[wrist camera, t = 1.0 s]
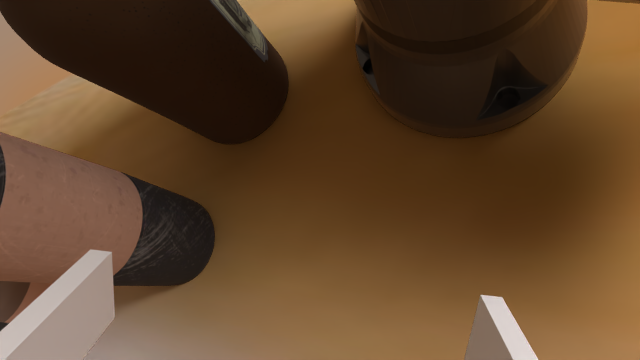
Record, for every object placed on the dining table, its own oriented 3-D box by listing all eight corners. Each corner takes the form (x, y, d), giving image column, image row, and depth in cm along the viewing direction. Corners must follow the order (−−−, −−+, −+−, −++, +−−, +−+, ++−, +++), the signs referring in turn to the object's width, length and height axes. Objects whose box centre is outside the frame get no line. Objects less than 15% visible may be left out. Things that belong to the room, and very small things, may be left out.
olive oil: (224, 178, 38) (-177, -5, 16) (168, 95, 42) (-211, -142, 20) (321, 89, 37) (38, -248, 14) (252, 13, 41) (-48, -338, 19)
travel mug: (183, 177, 40) (-84, 72, 22) (235, 238, 36) (-26, 174, 18) (125, 244, 40) (-183, 195, 22) (172, 309, 37) (-143, 316, 19)
